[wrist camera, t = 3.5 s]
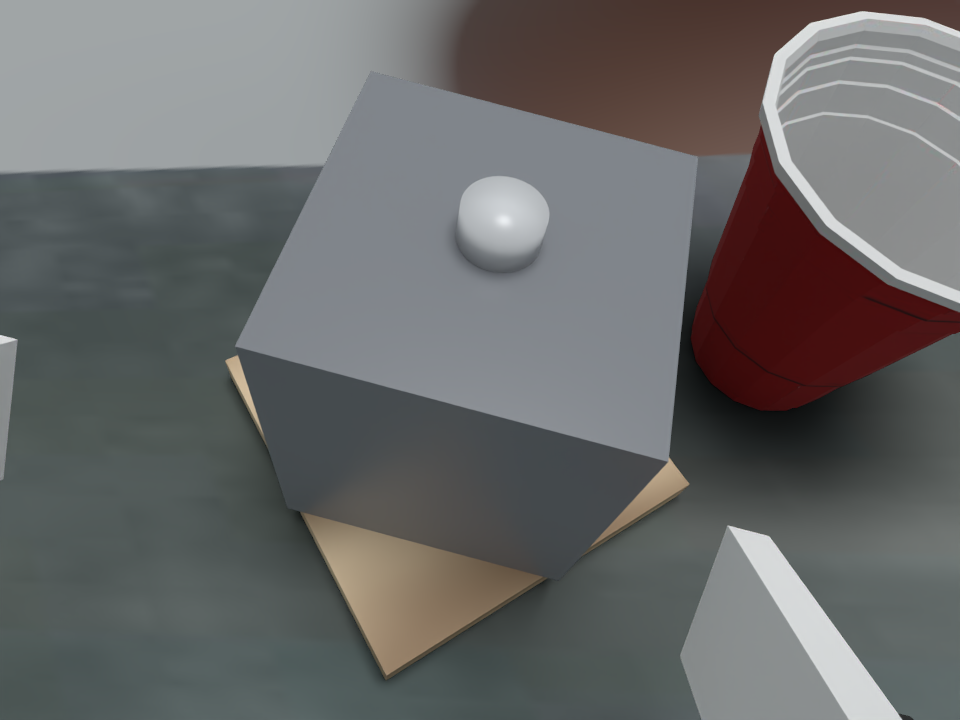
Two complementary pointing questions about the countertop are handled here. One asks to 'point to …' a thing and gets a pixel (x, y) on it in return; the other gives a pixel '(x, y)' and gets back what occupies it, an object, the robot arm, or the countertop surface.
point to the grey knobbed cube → (475, 327)
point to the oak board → (429, 573)
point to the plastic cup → (840, 215)
